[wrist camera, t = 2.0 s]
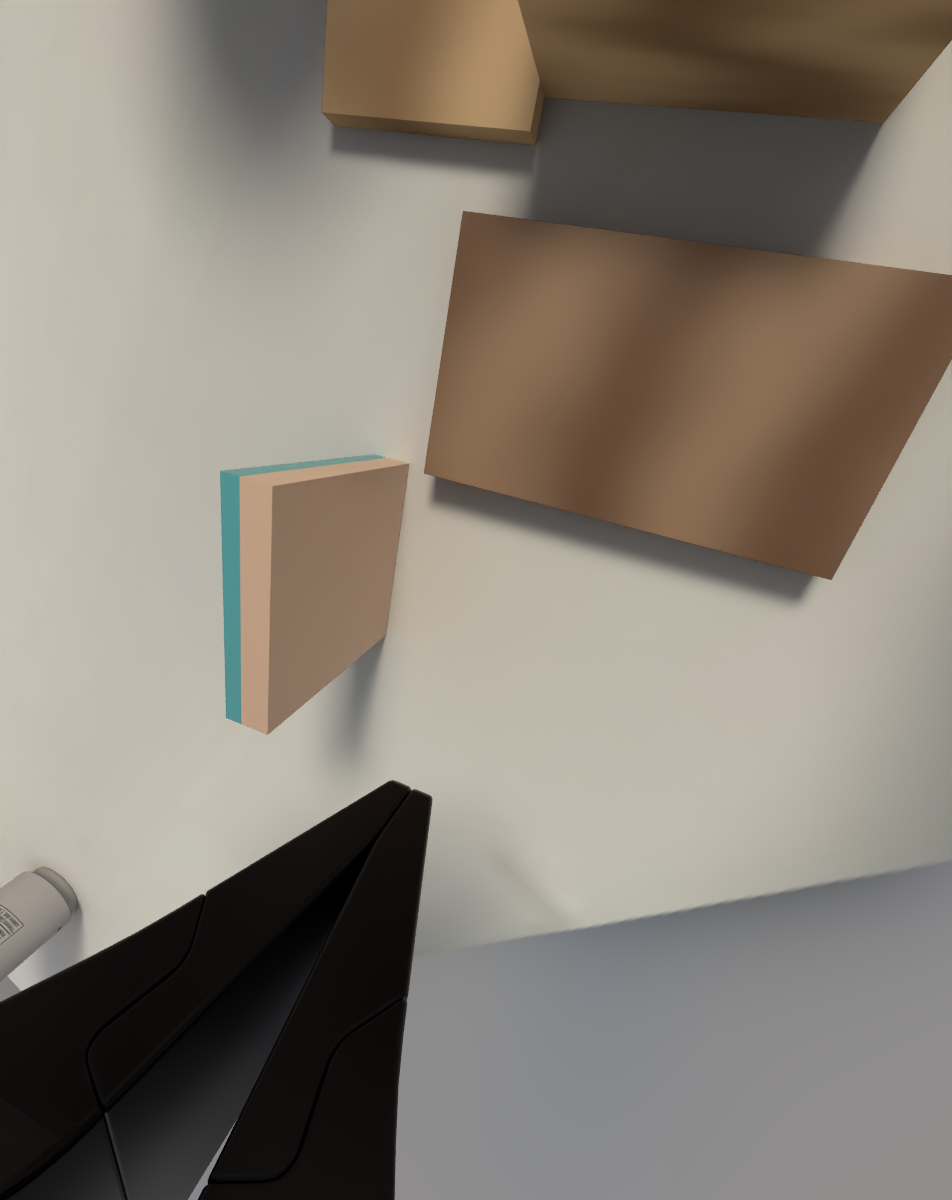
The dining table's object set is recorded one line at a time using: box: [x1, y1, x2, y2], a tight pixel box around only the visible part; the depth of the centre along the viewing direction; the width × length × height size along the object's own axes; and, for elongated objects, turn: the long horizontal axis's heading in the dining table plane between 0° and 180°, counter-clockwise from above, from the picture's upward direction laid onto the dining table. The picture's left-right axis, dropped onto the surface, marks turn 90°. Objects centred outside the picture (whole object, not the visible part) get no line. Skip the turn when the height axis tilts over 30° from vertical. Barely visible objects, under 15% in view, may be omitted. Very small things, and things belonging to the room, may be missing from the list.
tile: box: [220, 454, 409, 735], centre depth 17 cm, size 2×8×8 cm, turn 168°
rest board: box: [424, 211, 952, 580], centre depth 15 cm, size 14×8×1 cm, turn 78°
